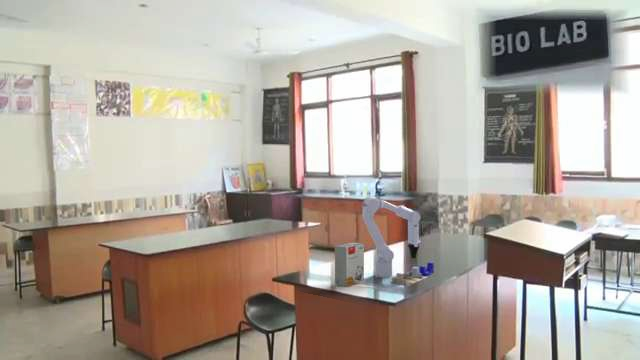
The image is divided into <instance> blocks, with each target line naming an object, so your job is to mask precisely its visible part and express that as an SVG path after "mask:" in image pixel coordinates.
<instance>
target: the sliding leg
mask: <svg viewBox="0 0 640 360" xmlns="http://www.w3.org/2000/svg"><path fill="white" fill-rule="evenodd" d="M411 271H412V277H414V278H415V279H416V278H418V277H421V273H419V266H413V267H411ZM414 278H413V279H414Z"/></svg>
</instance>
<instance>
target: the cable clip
mask: <svg viewBox="0 0 640 360" xmlns="http://www.w3.org/2000/svg"><path fill="white" fill-rule="evenodd" d="M418 267H419V273H421V276H425V277H428V276H430V275H432V274H434V271H435V270H434V268H435V265H434V262H429V261H428V262H427V264H426V266H423V265H419V266H418Z"/></svg>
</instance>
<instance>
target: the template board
mask: <svg viewBox="0 0 640 360" xmlns="http://www.w3.org/2000/svg"><path fill="white" fill-rule="evenodd" d="M427 278H428V276H421V277H418V278H414V277H412V270H409V271H406V272H404V273H401V272H396V276H394V277H391V284H396V285H401V286H402V285H403V286H408V287H409V286H410V285H413V284H415V283H418V282H419V281H422V280H425V279H427Z"/></svg>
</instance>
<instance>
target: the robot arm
mask: <svg viewBox="0 0 640 360" xmlns="http://www.w3.org/2000/svg"><path fill="white" fill-rule="evenodd" d="M361 206H362V208H361V209H362V212H361V217H362V220H363V222H364V224H365V226H366V228H367V231H368V233H369V234H370V236H371V239H372V240H373V242H374V245H375V250H376V256H377V257H378V260H374V273H373V274H374V276H375V277H376V278H392V277H393V260H394V257H395V254H394V251H393V250H391V249H390V247H389V246H388V244H386V241H385V240H384V238H383V236H382V233H381V230H380V229H379V227H378V224H377V223H376V221H375V218H374V215H375V214H376V212H377V211H378V210H379V209H383V208H384V209H386V210H389V211H391V212H394V213H395V215H396V216H397V217H399V218H403V219H405V220H407V243H408V244H407V247H408V249H409V253H410V257H411V259H416V257H417V255H418V251H419V248H420V244H419V243H421V242H422V241H421V240H420V237H419V236H420V235H419V234H420V233H419V229H420V226H419V223H420V220H421V217H422V216H421V215H420V213H419V212H418V211H414V210H413V209H412V208H407V207H406V206H405V205H404V204H402V205H395V204H392V203H390V202H388V201H386V200H384V199H379V198H376V197H375V198H373V197H371V196H367V197H365V198H364V199H363V201H362V203H361Z"/></svg>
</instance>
